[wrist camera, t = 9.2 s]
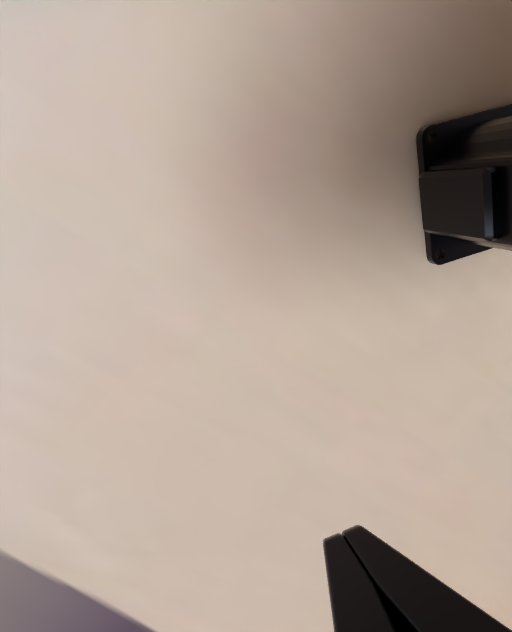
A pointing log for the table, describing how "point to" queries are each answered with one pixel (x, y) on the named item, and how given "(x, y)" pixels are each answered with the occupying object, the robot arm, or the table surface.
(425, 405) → the table surface
